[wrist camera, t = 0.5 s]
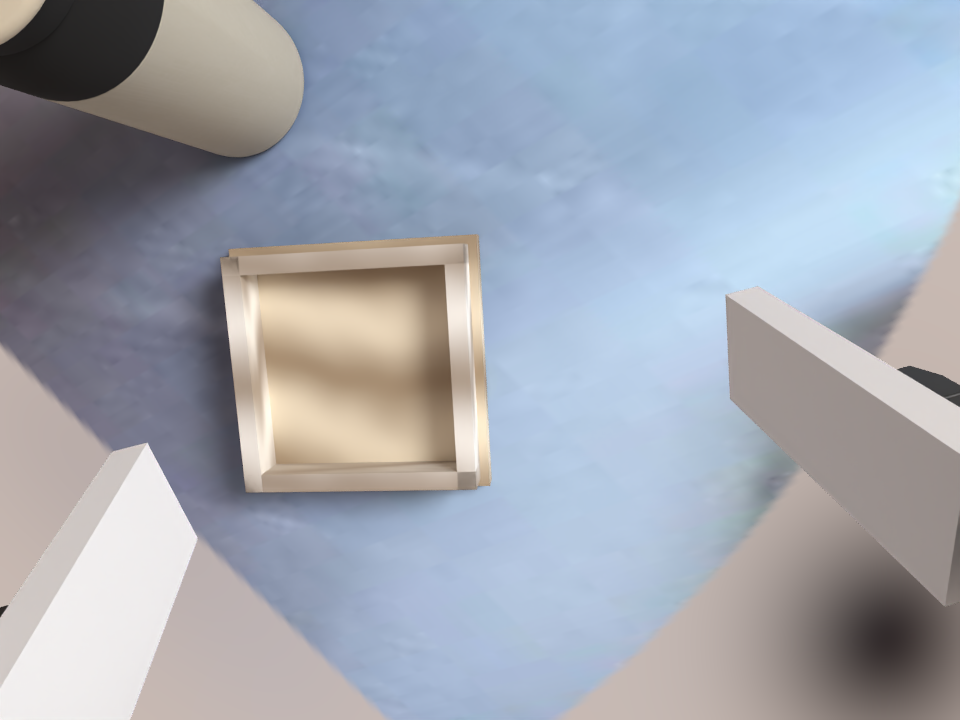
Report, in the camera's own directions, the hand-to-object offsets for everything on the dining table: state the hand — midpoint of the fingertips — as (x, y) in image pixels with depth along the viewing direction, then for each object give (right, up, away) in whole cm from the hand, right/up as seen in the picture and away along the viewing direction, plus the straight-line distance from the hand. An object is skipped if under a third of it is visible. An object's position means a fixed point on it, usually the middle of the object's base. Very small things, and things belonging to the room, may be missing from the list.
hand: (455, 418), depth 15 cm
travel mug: (-13, +17, +21) cm, 30 cm away
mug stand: (-6, +1, +23) cm, 24 cm away
